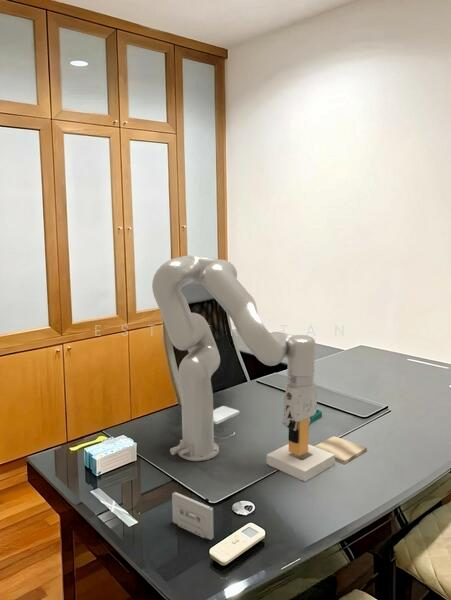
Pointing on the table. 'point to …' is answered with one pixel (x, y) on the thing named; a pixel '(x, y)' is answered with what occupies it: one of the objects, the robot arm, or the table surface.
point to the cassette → (194, 523)
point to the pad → (341, 449)
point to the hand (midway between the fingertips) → (298, 438)
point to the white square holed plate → (305, 469)
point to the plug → (301, 438)
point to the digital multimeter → (316, 416)
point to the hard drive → (223, 414)
